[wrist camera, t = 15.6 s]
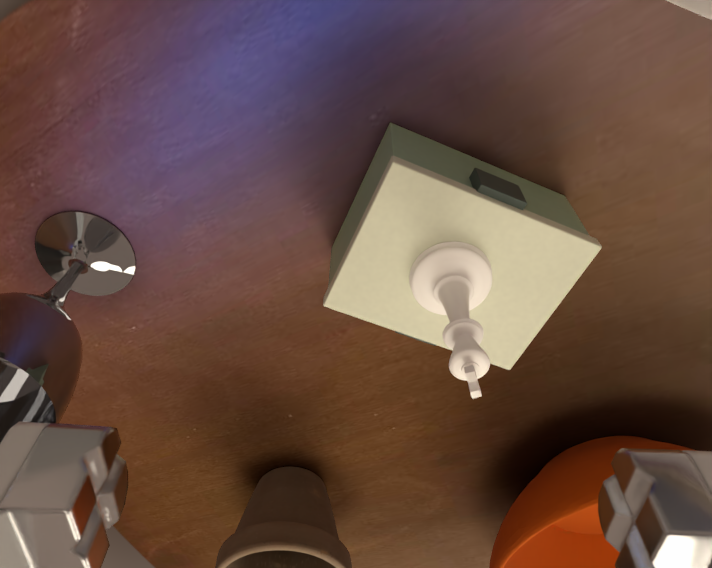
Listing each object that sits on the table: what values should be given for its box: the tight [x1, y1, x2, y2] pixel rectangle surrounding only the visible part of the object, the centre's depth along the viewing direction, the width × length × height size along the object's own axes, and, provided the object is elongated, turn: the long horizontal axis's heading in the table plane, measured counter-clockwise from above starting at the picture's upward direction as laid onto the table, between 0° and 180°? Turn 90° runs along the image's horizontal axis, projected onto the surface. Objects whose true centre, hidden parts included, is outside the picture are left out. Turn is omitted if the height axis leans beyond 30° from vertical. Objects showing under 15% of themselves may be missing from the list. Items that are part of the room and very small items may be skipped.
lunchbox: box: [323, 123, 602, 370], centre depth 40 cm, size 13×11×7 cm
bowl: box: [490, 436, 697, 568], centre depth 54 cm, size 25×25×10 cm
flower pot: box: [215, 467, 352, 568], centre depth 55 cm, size 12×11×10 cm
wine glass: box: [0, 211, 136, 443], centre depth 38 cm, size 8×8×15 cm
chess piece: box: [409, 241, 492, 399], centre depth 33 cm, size 5×5×10 cm
